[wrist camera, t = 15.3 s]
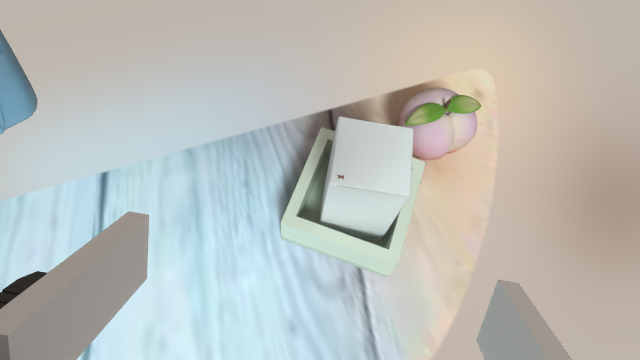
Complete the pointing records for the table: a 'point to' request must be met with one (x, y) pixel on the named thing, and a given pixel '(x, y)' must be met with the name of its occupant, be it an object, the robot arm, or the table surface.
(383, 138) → the supplement box
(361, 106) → the table surface
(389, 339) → the table surface
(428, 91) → the decorative fruit
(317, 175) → the open square container
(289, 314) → the table surface
